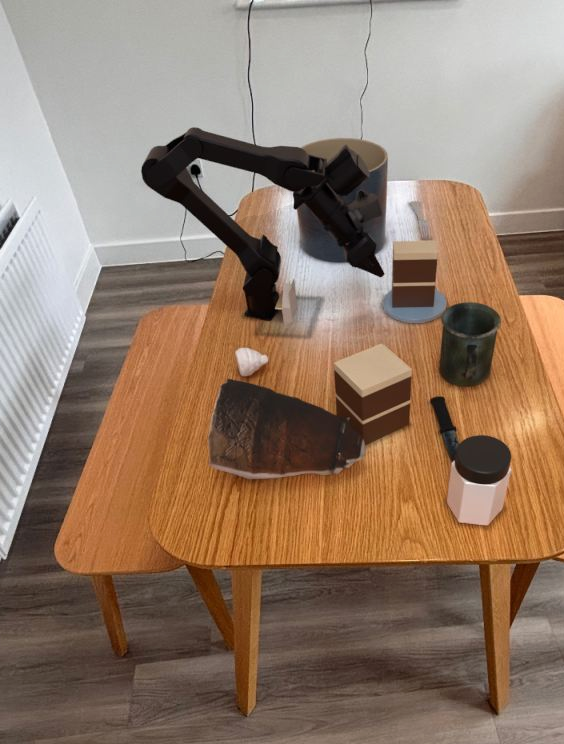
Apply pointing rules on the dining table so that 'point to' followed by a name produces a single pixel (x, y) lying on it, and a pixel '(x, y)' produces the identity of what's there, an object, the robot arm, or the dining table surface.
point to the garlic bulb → (249, 361)
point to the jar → (479, 479)
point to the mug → (468, 343)
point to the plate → (416, 310)
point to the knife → (446, 425)
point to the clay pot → (277, 435)
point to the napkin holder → (288, 302)
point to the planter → (346, 198)
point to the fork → (420, 219)
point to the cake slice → (414, 273)
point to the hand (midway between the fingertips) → (377, 267)
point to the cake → (373, 392)
